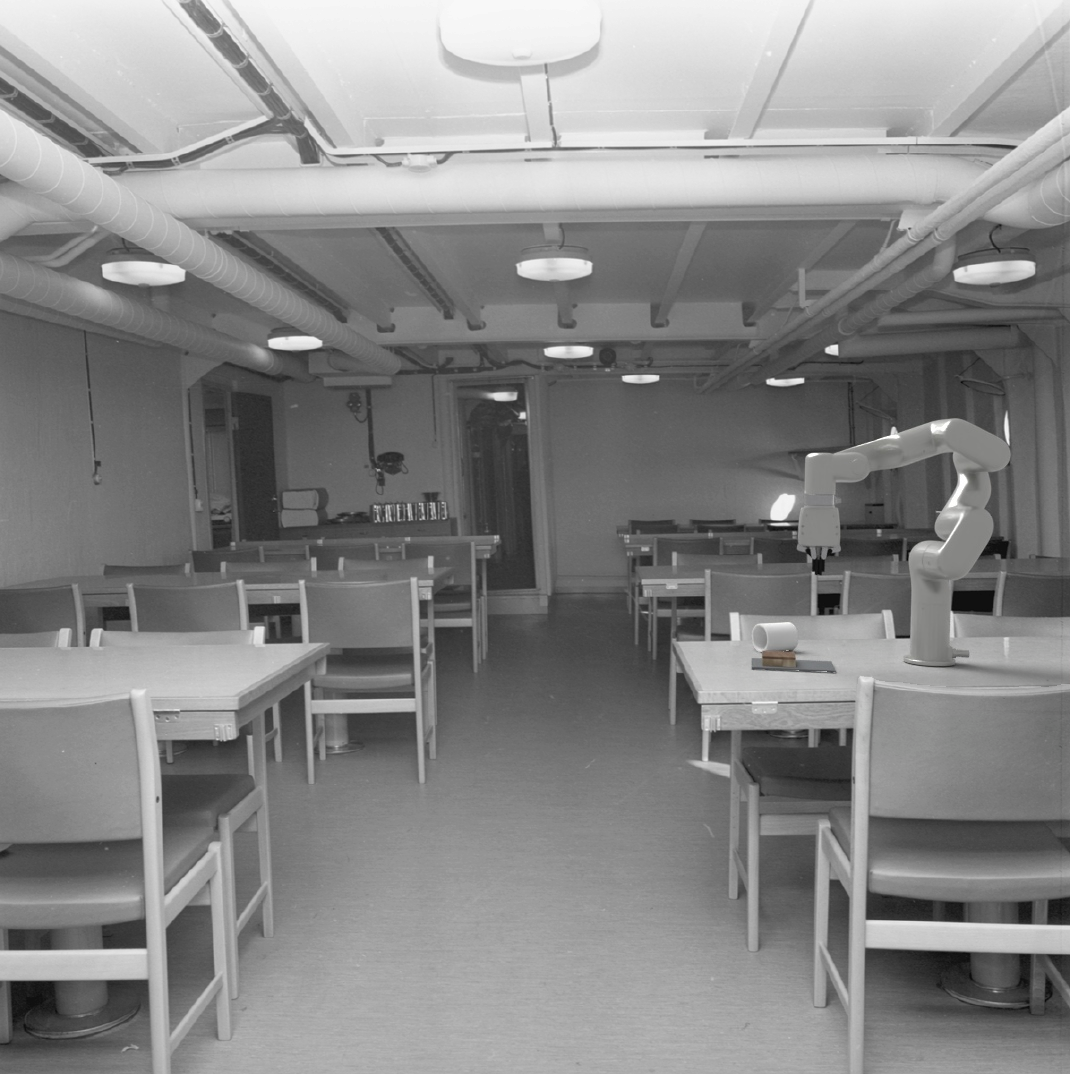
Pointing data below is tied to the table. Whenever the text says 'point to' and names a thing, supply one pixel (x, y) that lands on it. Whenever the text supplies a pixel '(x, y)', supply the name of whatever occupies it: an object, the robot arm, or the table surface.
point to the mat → (797, 665)
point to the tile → (778, 658)
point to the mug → (774, 637)
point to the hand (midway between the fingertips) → (818, 574)
